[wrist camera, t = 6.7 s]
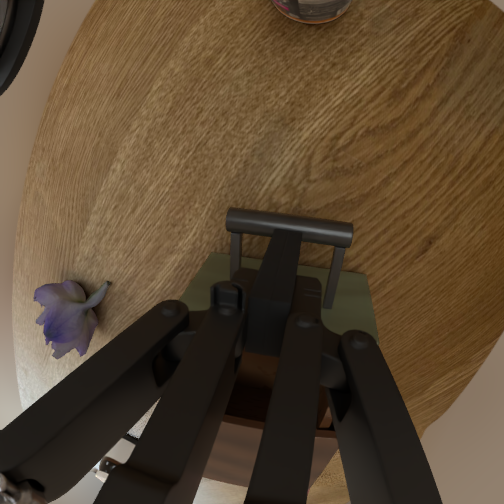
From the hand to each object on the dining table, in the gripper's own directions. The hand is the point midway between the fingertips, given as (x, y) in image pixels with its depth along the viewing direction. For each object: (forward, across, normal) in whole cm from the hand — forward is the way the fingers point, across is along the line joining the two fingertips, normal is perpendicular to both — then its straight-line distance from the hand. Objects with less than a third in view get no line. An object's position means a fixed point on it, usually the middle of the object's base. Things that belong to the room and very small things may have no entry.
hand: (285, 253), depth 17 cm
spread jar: (+8, -25, -54) cm, 60 cm away
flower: (+7, -22, -12) cm, 26 cm away
